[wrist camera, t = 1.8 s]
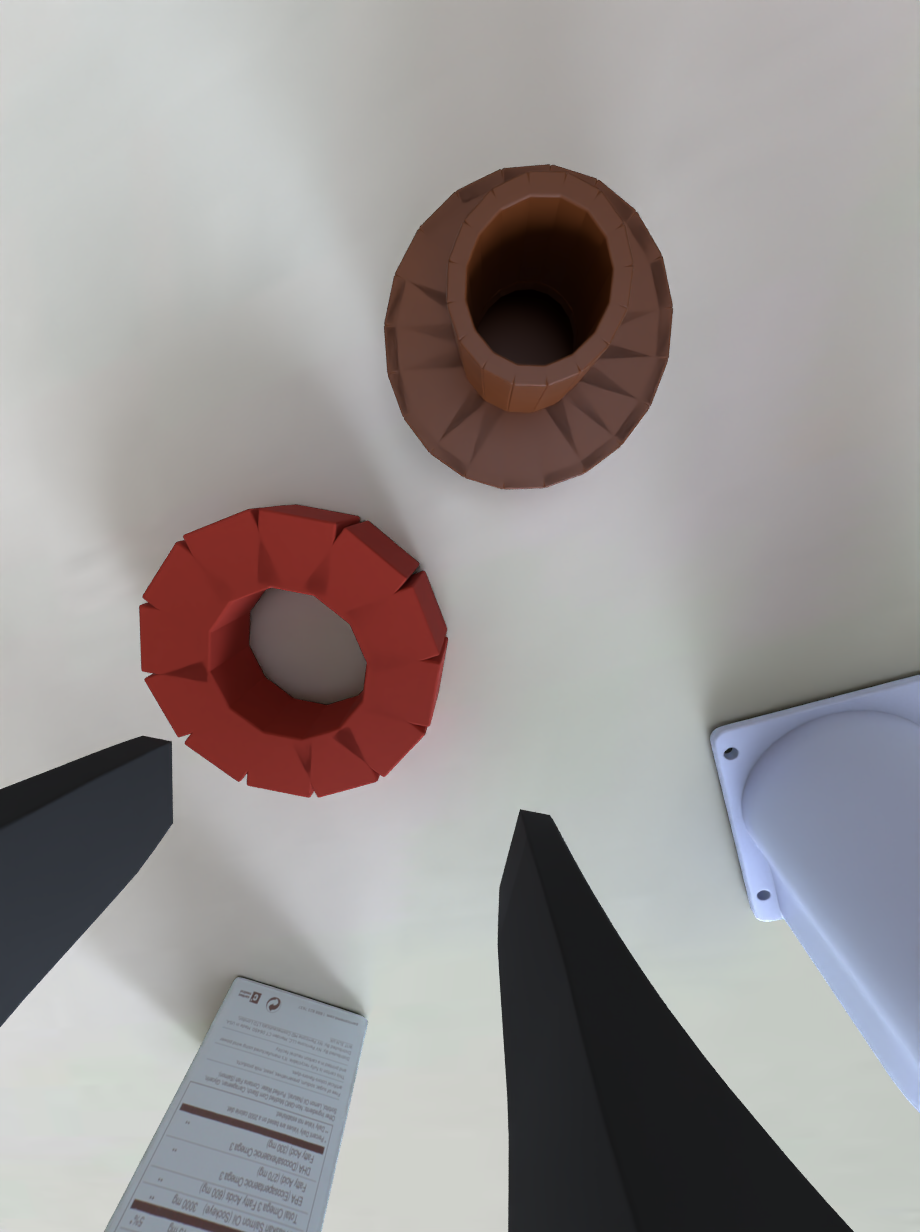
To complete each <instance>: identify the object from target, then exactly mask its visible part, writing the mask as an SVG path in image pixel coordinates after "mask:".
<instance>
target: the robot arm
mask: <svg viewBox="0 0 920 1232" xmlns="http://www.w3.org/2000/svg"><path fill="white" fill-rule="evenodd" d="M710 742H711V746H712V750H713V754H714V758H715V763H716V767H717V771H718V775H719V779H720V783H721V787H722V792H723V796H724V800H725V804H726V808H727V812H728V816H729V820H730V825H731V829H732V833H733V837H734V841H735V845H736V849H737V854H738V858H739V862H740V866H741V870H742V874H743V878H744V883H745V887H746V891H747V895H748V899H749V903H750V907H751V910H752V911H753V913H754V915H755V916H756V918H757V919H759V920H761V921H765V922H766V921H774V920H779V919H785V921H786V922H787V924H788V925H789V927H790V928H791V930H792V931H793V933H794V934H795V936H796V937H797V939H798V940H799V942H800V943H801V945H802V946H803V948H804V949H805V951H806V952H807V954H808V955H809V957H810V958H811V960H812V961H813V962H814V964H815V965H816V967H817V968H818V970H819V971H820V973H821V974H822V976H823V977H824V979H825V980H826V982H827V983H828V985H829V986H830V988H831V989H832V991H833V992H834V994H835V995H836V997H837V998H838V1000H839V1001H840V1003H841V1004H842V1006H843V1007H844V1009H845V1010H846V1012H847V1013H848V1015H849V1016H850V1018H851V1019H852V1021H853V1022H854V1024H855V1025H856V1027H857V1028H858V1030H859V1031H860V1033H861V1034H862V1036H863V1037H864V1039H865V1040H866V1042H867V1043H868V1045H869V1046H870V1048H871V1049H872V1051H873V1052H874V1054H875V1055H876V1057H877V1058H878V1060H879V1061H880V1063H881V1064H882V1066H883V1067H884V1069H885V1070H886V1072H887V1073H888V1075H889V1076H890V1077H891V1079H892V1080H893V1081H894V1083H895V1084H896V1085H897V1087H898V1088H899V1089H900V1090H901V1092H902V1093H903V1094H904V1096H905V1097H906V1098H907V1099H908V1100H909V1102H910V1103H911V1104H912V1105H913V1106H914V1107H915V1108H916V1109H917V1110H918V1112H919V1113H920V675H916V676H912V677H908V678H904V679H900V680H897V681H893V682H889V683H885V684H881V685H877V686H874V687H870V688H866V689H862V690H858V691H854V692H851V693H847V694H843V695H839V696H835V697H831V698H828V699H824V700H820V701H816V702H812V703H808V704H805V705H801V706H797V707H793V708H789V709H785V710H782V711H778V712H774V713H770V714H766V715H762V716H759V717H755V718H751V719H747V720H743V721H739V722H736V723H732V724H728V725H724V726H721V727H718V728H716V729H715V730H714V731H713V732H712V734H711V736H710ZM728 748H733V749H732V751H731V752H729V753H727V754H724V752H725V750H726V749H728ZM172 824H173V795H172V741H167V740H162V739H157V738H151V737H146V736H141V737H137V738H134V739H131V740H128V741H125V742H122V743H120V744H117V745H114V746H111V747H109V748H106V749H103V750H101V751H98V752H96V753H93V754H90V755H88V756H85V757H83V758H80V759H77V760H75V761H72V762H70V763H67V764H65V765H62V766H60V767H57V768H54V769H52V770H49V771H47V772H44V773H41V774H39V775H36V776H34V777H31V778H28V779H26V780H23V781H21V782H18V783H16V784H13V785H10V786H8V787H5V788H3V789H0V1027H1V1026H2V1025H3V1023H4V1022H5V1021H6V1020H7V1019H8V1017H9V1016H10V1015H11V1014H12V1013H13V1012H14V1010H15V1009H16V1008H17V1007H18V1006H19V1005H20V1003H21V1002H22V1001H23V1000H24V999H25V998H26V996H27V995H28V994H29V993H30V992H31V991H32V990H33V989H34V988H35V986H36V985H37V984H38V983H39V982H40V981H41V980H42V979H43V978H44V976H45V975H46V974H47V973H48V972H49V971H50V970H51V969H52V968H53V967H54V965H55V964H56V963H57V962H58V961H59V960H60V959H61V958H62V957H63V955H64V954H65V953H66V952H67V951H68V950H69V949H70V948H71V947H72V945H73V944H74V943H75V942H76V941H77V940H78V939H79V938H80V937H81V935H82V934H83V933H84V932H85V931H86V930H87V929H88V928H89V927H90V925H91V924H92V923H93V922H94V921H95V920H96V919H97V918H98V917H99V916H100V914H101V913H102V912H103V911H104V910H105V909H106V908H107V907H108V905H109V904H110V903H111V902H112V901H113V900H114V899H115V898H116V896H117V895H118V894H119V893H120V892H121V891H122V890H123V889H124V887H125V886H126V885H127V884H128V883H129V882H130V881H131V879H132V878H133V877H134V876H135V875H136V874H137V872H138V871H139V870H140V868H141V867H142V866H143V864H144V863H145V862H146V860H147V859H148V858H149V856H150V855H151V854H152V852H153V851H154V849H155V848H156V847H157V845H158V844H159V842H160V841H161V839H162V838H163V837H164V835H165V834H166V832H167V831H168V829H169V828H170V826H171V825H172ZM498 960H499V976H500V992H501V1007H502V1023H503V1038H504V1053H505V1069H506V1084H507V1101H508V1130H509V1201H508V1232H854V1231H853V1230H852V1229H851V1228H850V1227H849V1226H848V1225H847V1224H846V1223H845V1222H844V1220H843V1219H842V1218H841V1217H840V1216H839V1215H838V1214H837V1213H836V1212H835V1211H834V1209H833V1208H832V1207H831V1206H830V1205H829V1204H828V1203H827V1202H826V1201H825V1200H824V1198H823V1197H822V1196H821V1195H820V1194H819V1193H818V1192H817V1190H816V1189H815V1188H814V1187H813V1186H812V1185H811V1184H810V1182H809V1181H808V1180H807V1179H806V1178H805V1177H804V1176H803V1174H802V1173H801V1172H800V1171H799V1170H798V1169H797V1168H796V1166H795V1165H794V1164H793V1163H792V1162H791V1161H790V1160H789V1158H788V1157H787V1156H786V1155H785V1154H784V1152H783V1151H782V1150H781V1149H780V1148H779V1146H778V1145H777V1144H776V1143H775V1142H774V1141H773V1139H772V1138H771V1137H770V1136H769V1135H768V1133H767V1132H766V1131H765V1130H764V1129H763V1127H762V1126H761V1125H760V1124H759V1123H758V1121H757V1120H756V1119H755V1118H754V1117H753V1115H752V1114H751V1113H750V1112H749V1111H748V1109H747V1108H746V1107H745V1106H744V1105H743V1104H742V1102H741V1101H740V1100H739V1099H738V1098H737V1096H736V1095H735V1094H734V1093H733V1092H732V1090H731V1089H730V1088H729V1087H728V1085H727V1084H726V1083H725V1082H724V1080H723V1079H722V1078H721V1077H720V1075H719V1074H718V1073H717V1072H716V1070H715V1069H714V1068H713V1067H712V1065H711V1064H710V1063H709V1062H708V1060H707V1059H706V1058H705V1057H704V1055H703V1054H702V1053H701V1051H700V1050H699V1049H698V1047H697V1046H696V1045H695V1043H694V1042H693V1041H692V1039H691V1038H690V1037H689V1035H688V1034H687V1033H686V1031H685V1030H684V1029H683V1027H682V1026H681V1025H680V1023H679V1022H678V1021H677V1019H676V1018H675V1017H674V1015H673V1014H672V1013H671V1011H670V1010H669V1009H668V1007H667V1006H666V1004H665V1003H664V1002H663V1000H662V999H661V997H660V996H659V994H658V993H657V992H656V990H655V989H654V987H653V986H652V984H651V983H650V981H649V980H648V979H647V977H646V976H645V974H644V973H643V971H642V970H641V968H640V967H639V965H638V964H637V962H636V961H635V959H634V958H633V956H632V955H631V953H630V952H629V950H628V949H627V947H626V945H625V944H624V942H623V941H622V939H621V938H620V936H619V934H618V933H617V931H616V930H615V928H614V926H613V925H612V923H611V922H610V920H609V918H608V917H607V915H606V913H605V912H604V910H603V908H602V907H601V905H600V903H599V902H598V900H597V898H596V897H595V895H594V893H593V892H592V890H591V888H590V886H589V885H588V883H587V881H586V879H585V878H584V876H583V874H582V872H581V871H580V869H579V867H578V865H577V863H576V862H575V860H574V858H573V856H572V854H571V852H570V851H569V849H568V847H567V845H566V843H565V841H564V839H563V838H562V836H561V834H560V832H559V830H558V828H557V826H556V824H555V822H554V821H553V819H552V818H551V816H550V815H546V814H541V813H536V812H531V811H526V810H521V809H520V812H519V815H518V819H517V823H516V827H515V831H514V834H513V838H512V842H511V846H510V850H509V853H508V857H507V861H506V865H505V869H504V872H503V876H502V880H501V884H500V889H499V914H498Z"/></svg>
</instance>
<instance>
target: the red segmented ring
mask: <svg viewBox="0 0 920 1232" xmlns="http://www.w3.org/2000/svg"><path fill="white" fill-rule="evenodd" d="M183 538H184V540H183V541H178V542H176V543H175V545H174V546H173V548H172V550H171V551H170V553H169V554H168V556H167V558H166V559H165V561H164V562H163V564H162V566H161V567H160V569H159V570H158V572H157V574H156V575H155V577H154V578H153V580H152V582H151V583H150V585H149V586H148V588H147V590H146V591H145V593H144V594H143V599H145V600H146V601H147V602H148V603H145V604H142V605H140V606H139V613H140V641H141V669H142V671H143V672H149V673H153V674H152V675H150V676H148V677H146V678H145V679H144V680H145V682H146V684H147V685H148V687H149V689H150V690H151V692H152V694H153V696H154V697H155V699H156V701H157V702H158V704H159V706H160V707H161V709H162V711H163V713H164V714H165V716H166V718H167V719H168V721H169V723H170V725H171V726H172V728H173V730H174V731H175V733H176V735H177V736H178V737H181V736H184V735H188V734H190V736H189V737H188V738H187V740H186V741H185V745H187V746H188V747H190V748H191V749H192V750H194V751H195V752H197V753H198V754H199V755H201V756H202V757H204V758H205V759H207V760H208V761H209V762H211V763H212V764H214V765H215V766H217V767H218V768H219V769H221V770H222V771H224V772H225V773H226V774H228V775H229V776H231V777H232V778H234V779H235V780H236V781H238V782H239V781H241V780H242V779H243V778H244V776H245V775H246V774H247V785H248V786H253V787H258V788H263V789H268V790H273V791H278V792H283V793H288V794H293V795H298V796H303V797H311V795H312V794H313V792H314V791H315V793H316V795H317V797H323V796H327V795H330V794H334V793H337V792H341V791H345V790H348V789H352V788H356V787H359V786H363V785H367V784H370V783H374V782H376V781H378V778H379V776H380V775H381V776H383V777H385V776H386V775H387V774H388V773H389V772H390V771H391V770H392V769H393V768H394V767H395V766H396V765H397V764H398V763H399V761H400V760H401V759H402V758H403V757H404V756H405V755H406V754H407V753H408V752H409V751H410V750H411V749H412V748H413V747H414V746H415V745H416V744H417V743H418V742H419V741H420V739H421V738H422V737H423V736H424V735H425V733H426V730H427V726H430V724H431V720H432V716H433V712H434V708H435V704H436V700H437V697H438V693H439V687H440V682H441V676H442V671H443V665H444V659H445V654H446V648H447V643H448V638H447V637H445V635H446V632H447V627H446V624H445V622H444V619H443V616H442V614H441V611H440V609H439V606H438V603H437V601H436V598H435V596H434V593H433V590H432V588H431V585H430V583H429V580H428V577H427V575H426V572H425V571H421V572H418V573H416V574H413V572H414V571H415V570H416V569H417V568H418V566H419V565H420V564H419V563H418V562H417V561H416V560H415V559H414V558H412V557H411V556H410V555H409V554H408V553H407V552H405V551H404V550H403V549H402V548H401V547H399V546H398V545H397V544H396V543H395V542H393V541H392V540H391V539H390V538H389V537H387V536H386V535H385V534H384V533H383V532H381V531H380V530H379V529H378V528H377V527H375V526H374V525H373V524H372V523H371V522H369V521H365V522H361V523H360V517H358V516H355V515H349V514H344V513H339V512H333V511H328V510H323V509H317V508H312V507H307V506H301V505H296V504H295V505H282V506H273V507H263V508H254V509H247V510H245V511H242V512H240V513H237V514H235V515H232V516H230V517H227V518H225V519H222V520H220V521H217V522H215V523H212V524H210V525H207V526H205V527H202V528H200V529H197V530H195V531H192V532H190V533H187V534H185V535H184V536H183ZM412 574H413V575H412ZM269 588H276V589H282V590H287V591H292V592H297V593H302V594H308V595H313V596H315V597H316V598H317V599H319V600H320V601H321V602H322V603H324V604H325V605H326V606H327V607H329V608H330V609H331V610H332V611H334V612H335V613H336V614H337V615H339V616H340V617H341V618H343V619H344V620H345V621H346V622H348V623H349V624H350V626H351V628H352V631H353V633H354V635H355V637H356V640H357V642H358V644H359V646H360V649H361V651H362V653H363V655H364V658H365V660H366V662H367V665H366V673H365V681H364V689H363V691H362V692H361V693H360V694H359V695H358V696H355V697H351V698H348V699H345V700H342V701H338V702H335V703H332V704H329V705H325V704H320V703H315V702H310V701H304V700H299V699H294V698H293V697H291V696H290V695H289V694H287V693H286V692H285V691H283V690H282V689H281V688H279V687H278V686H277V685H275V684H274V683H273V682H271V681H270V680H269V679H267V678H266V677H265V676H264V674H263V672H262V670H261V668H260V666H259V664H258V662H257V660H256V658H255V656H254V654H253V652H252V650H251V648H250V646H249V629H250V611H251V610H252V608H253V607H254V605H255V604H256V603H257V601H258V600H259V599H260V597H261V596H262V594H263V593H264V592H265V590H266V589H269Z"/></svg>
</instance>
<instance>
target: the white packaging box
mask: <svg viewBox="0 0 920 1232" xmlns="http://www.w3.org/2000/svg"><path fill="white" fill-rule="evenodd" d="M367 1025H368V1020H367V1019H366V1018H365V1017H363V1016H361V1015H357V1014H354V1013H352V1012H349V1011H346V1010H343V1009H340V1008H336V1007H333V1006H330V1005H328V1004H324V1003H321V1002H318V1001H315V1000H312V999H309V998H306V997H303V996H300V995H297V994H294V993H291V992H287V991H284V990H281V989H278V988H275V987H271V986H268V985H265V984H262V983H258V982H255V981H252V980H248V979H245V978H238V977H237V978H236V979H235V980H234V981H233V983H232V985H231V987H230V989H229V991H228V993H227V995H226V997H225V999H224V1001H223V1003H222V1005H221V1007H220V1008H219V1010H218V1012H217V1014H216V1016H215V1018H214V1020H213V1022H212V1024H211V1026H210V1028H209V1030H208V1032H207V1034H206V1036H205V1038H204V1040H203V1042H202V1044H201V1046H200V1048H199V1050H198V1052H197V1054H196V1056H195V1058H194V1060H193V1062H192V1064H191V1065H190V1067H189V1069H188V1071H187V1073H186V1075H185V1077H184V1079H183V1081H182V1083H181V1085H180V1087H179V1089H178V1090H177V1092H176V1094H175V1096H174V1098H173V1100H172V1102H171V1104H170V1106H169V1108H168V1110H167V1112H166V1113H165V1115H164V1117H163V1119H162V1121H161V1123H160V1125H159V1127H158V1129H157V1131H156V1133H155V1134H154V1136H153V1138H152V1140H151V1142H150V1144H149V1146H148V1148H147V1150H146V1152H145V1154H144V1156H143V1158H142V1159H141V1161H140V1163H139V1165H138V1167H137V1169H136V1171H135V1173H134V1175H133V1177H132V1179H131V1181H130V1183H129V1185H128V1187H127V1188H126V1190H125V1192H124V1194H123V1196H122V1198H121V1200H120V1202H119V1204H118V1206H117V1208H116V1210H115V1212H114V1213H113V1215H112V1217H111V1219H110V1221H109V1223H108V1225H107V1227H106V1229H105V1231H104V1232H321V1231H322V1227H323V1222H324V1218H325V1213H326V1209H327V1204H328V1200H329V1195H330V1191H331V1187H332V1182H333V1178H334V1173H335V1169H336V1164H337V1160H338V1155H339V1151H340V1146H341V1142H342V1137H343V1133H344V1128H345V1124H346V1119H347V1115H348V1111H349V1106H350V1101H351V1097H352V1092H353V1088H354V1083H355V1079H356V1074H357V1070H358V1065H359V1061H360V1056H361V1051H362V1047H363V1042H364V1038H365V1034H366V1030H367Z"/></svg>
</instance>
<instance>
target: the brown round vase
mask: <svg viewBox="0 0 920 1232" xmlns="http://www.w3.org/2000/svg"><path fill="white" fill-rule="evenodd" d="M672 306H673V304H672V299H671V295H670V290H669V285H668V280H667V275H666V271H665V266H664V261H663V257H662V254H661V252H660V250H659V249H658V247H657V245H656V243H655V242H654V240H653V238H652V237H651V235H650V233H649V231H648V230H647V228H646V226H645V224H644V223H643V221H642V219H641V218H640V216H639V214H638V212H636V210H635V209H634V208H633V207H631V206H630V205H629V204H628V203H627V202H625V201H624V200H623V199H622V198H620V197H619V196H618V195H617V194H616V193H614V192H613V191H612V190H611V189H610V188H608V187H607V186H606V185H605V184H604V183H602V182H601V181H600V180H598V181H597V179H596V178H593V177H590V176H587V175H584V174H581V173H578V172H574V171H571V170H568V169H565V168H562V167H558V166H555V165H551V166H550V164H547V165H535V166H524V167H513V168H503V169H502V170H501V169H499V170H497V171H495V172H493V173H491V174H489V175H487V176H485V177H483V178H481V179H479V180H477V181H475V182H473V183H471V184H469V185H467V186H465V187H463V188H461V189H459V190H457V191H456V192H454V193H453V194H452V195H451V196H450V197H449V198H448V199H447V200H446V201H445V202H444V203H443V204H442V205H441V206H440V207H439V208H438V209H437V210H436V211H435V212H434V213H433V214H432V215H431V216H430V217H429V218H428V219H427V220H426V221H425V222H424V223H423V224H422V225H421V226H420V229H418V230H417V232H416V234H415V236H414V238H413V240H412V242H411V244H410V246H409V248H408V250H407V251H406V253H405V255H404V257H403V259H402V261H401V263H400V265H399V267H398V269H397V271H396V272H395V276H394V279H393V284H392V288H391V293H390V298H389V303H388V308H387V313H386V318H385V322H384V324H385V326H384V333H385V347H386V361H387V373H388V377H389V380H390V383H391V385H392V388H393V391H394V394H395V396H396V399H397V402H398V405H399V407H400V410H401V413H402V416H403V417H404V420H405V421H406V422H407V424H408V425H409V426H410V428H411V429H412V430H413V432H414V433H415V434H416V436H417V437H418V438H419V440H420V441H421V442H422V444H423V445H424V446H425V448H426V449H427V450H428V452H430V453H431V455H433V456H434V457H436V458H437V459H438V460H440V461H441V462H443V463H444V464H445V465H447V466H448V467H450V468H451V469H453V470H454V471H455V472H457V473H458V474H460V475H461V476H462V477H465V478H467V479H470V480H473V481H477V482H480V483H483V484H487V485H490V486H493V487H497V488H500V489H533V488H544V487H549V486H552V485H554V484H557V483H560V482H563V481H565V480H568V479H571V478H574V477H576V476H579V475H582V474H584V473H586V472H588V471H589V470H590V469H592V468H593V467H594V466H595V465H597V464H598V463H599V462H601V461H602V460H603V459H605V458H606V457H607V456H609V455H610V454H611V453H613V452H614V451H615V450H617V449H618V448H619V447H620V446H621V445H622V444H623V443H624V442H625V440H626V439H627V438H628V436H629V435H630V434H631V432H632V431H633V430H634V428H635V427H636V426H637V424H638V423H639V421H640V420H641V419H642V417H643V416H644V415H645V413H646V412H647V411H648V409H649V406H651V404H652V401H653V399H654V396H655V393H656V391H657V388H658V386H659V383H660V380H661V378H662V375H663V372H664V370H665V367H666V365H667V362H668V358H669V348H670V337H671V325H672V314H673V308H672Z"/></svg>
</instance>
